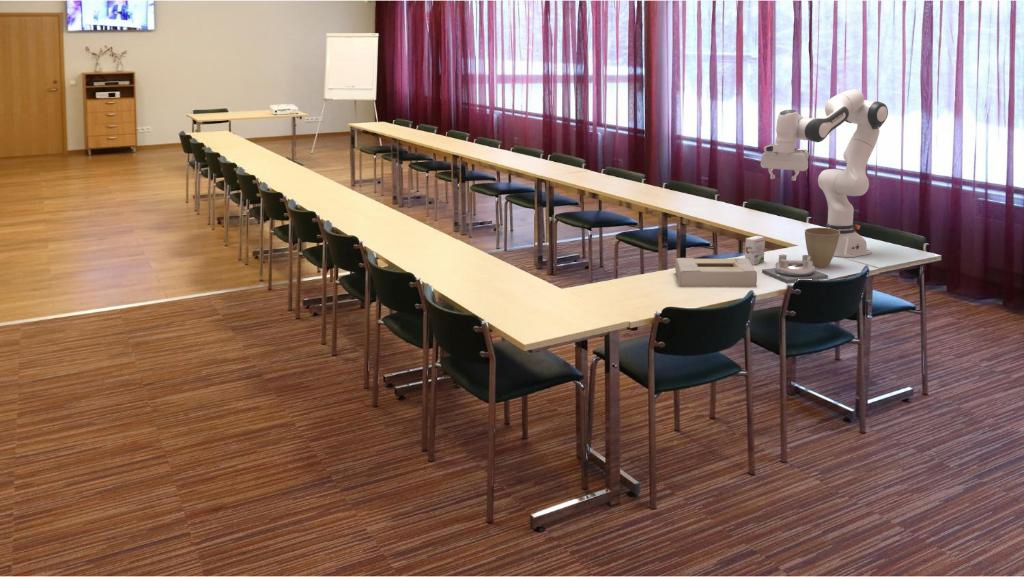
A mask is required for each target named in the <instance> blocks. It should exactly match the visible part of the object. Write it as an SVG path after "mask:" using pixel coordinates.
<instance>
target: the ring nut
mask: <svg viewBox="0 0 1024 577" xmlns="http://www.w3.org/2000/svg"><path fill="white" fill-rule="evenodd" d="M787 257H788V256H787V254H785V253H781V254H778V262H776V263H775V268H776V269H775V271H776V272H777V273H779V274H782V275H787V276H809V275H812V274H814V270H815V268H816V267H815V265H814V264H812V262H813V261H810V256H809V255H808V254H804V255H802V259H801V260H791V259H790V260H789V259H788V260H787Z"/></svg>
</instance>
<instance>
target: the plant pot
mask: <svg viewBox="0 0 1024 577" xmlns="http://www.w3.org/2000/svg"><path fill="white" fill-rule="evenodd" d="M839 235H840V231H839V230H836V229H831V228H826V227H809V228H806V229H804V239H805V246H806V252H807V255H809V256H810V261H813V262H812V264H814V265H815V268H816V269H817V268H819V269H825V268H828V267H829V266H830V265H831V262H832V260H833V258H834V256H833V255H834V253H835V250H836V247H837V243H838V239H839Z"/></svg>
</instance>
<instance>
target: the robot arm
mask: <svg viewBox="0 0 1024 577" xmlns="http://www.w3.org/2000/svg"><path fill="white" fill-rule="evenodd" d="M864 96H865V95H864V93H863V92H862V91H860V90H859V89H856V88H855V89H854V88H852V89H848V90H845V91H842V92H840V93H838V94H836V95H833V96H832V97H830V99H828V100H827V101H826V103H825V105H824V106H825V107H824V112H825V115H826V116H825V117H823V118H814V117H804V116H802V115H801V114H799V113H798V111H797V110H795V109H785V110H781V111H780V112H779V114H778V116H777V119H776V120H777V121H776V128H775V129H776V138H775V141H774V143H772V144H769V145H765V146H764V147H763V151H764V152H763V153H761V154H762V155H761V158H760V167H761V168H762V169H768V173H769V175H770V176H769V177H770V178H769V179H770V180H774V179H776V175H775V174H774V173H773V171H774V170H787V171H794V173H795V174H794V175H792V176H791V181H793V182H795V181H796V180H797V176H798V175H799V173H800V172H805V171H807V170H808V169H809V157H810V152H809V151H808V150H807V149H804V148H802V149H801V148H797V142H798V141H797V140H802V141H811V142H814V143H821V142H823V141H825V139H826V138H827V137H828V136H829V135H830V133H831V132H833V131H834V130H835V129H836V128H838V127H840V126H841V125H842V124H843V123H844V122H846V123H849V124H855V125H856V130H855V131H854V132H853V135H852V136H851V138H850V140H849V143H848V144H847V146H846V148H845V150H844V152H843V154H842V155H843V156H842V157H843V159H844V161H845V162H846V167H845V169H843V170H842V169H836V168H829V169H824V170H822V171H821V172H820V174H819V175H818V178H817V184H818V187H819V188H820V190H822V192H823V194H824V196H825V199H826V202H827V222H826V227H825V228H831V229H836V230H839V231H840V235H839V239H838V243H837V247H836V250H835V253H834V255H833V257H840V258H841V257H843V258H854V257H860V256H866V255H871V254H872V250H871V249H869V248H867V241H866V239H865V238H864V237H863V236H861V235H860V234H859V233H857V231H856V230H860V228H861V225H859V224H854V210H855V208H854V207H853V204H852V203H850V201H849V200H848V197H860V196H864V195H865V194H866V193H867V192H868V190H869V188H870V181H869V178H868V176H867V175H866V174H867V173H866V171H867V170H866V168H867V164H868V162H869V160H870V158H871V155H872V152H874V149H875V146H876V144H877V141H878V139H879V135H880V128H881V127H882V126H883V124H885V122H886V121H887V118H888V116H889V110H888V106H887V105H886V104H885V103H883V102H880V101H874V100H869V99H865V97H864Z"/></svg>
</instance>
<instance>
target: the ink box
mask: <svg viewBox="0 0 1024 577" xmlns="http://www.w3.org/2000/svg"><path fill="white" fill-rule="evenodd" d="M765 247H766V237H765V236H761V235H754V236H751V237H746V238H745V248H744V249H745V252H744V258H747V259H749V261H750V263H751V264H752V266H755V265H758V264H760V263H761V264H762V263H764V262H765Z"/></svg>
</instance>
